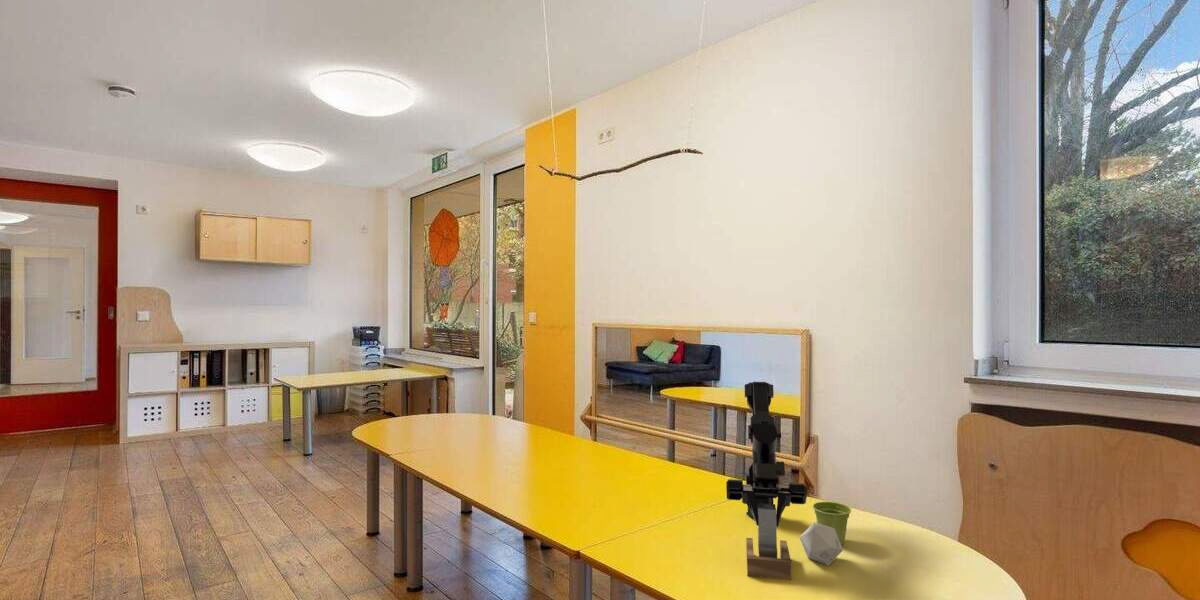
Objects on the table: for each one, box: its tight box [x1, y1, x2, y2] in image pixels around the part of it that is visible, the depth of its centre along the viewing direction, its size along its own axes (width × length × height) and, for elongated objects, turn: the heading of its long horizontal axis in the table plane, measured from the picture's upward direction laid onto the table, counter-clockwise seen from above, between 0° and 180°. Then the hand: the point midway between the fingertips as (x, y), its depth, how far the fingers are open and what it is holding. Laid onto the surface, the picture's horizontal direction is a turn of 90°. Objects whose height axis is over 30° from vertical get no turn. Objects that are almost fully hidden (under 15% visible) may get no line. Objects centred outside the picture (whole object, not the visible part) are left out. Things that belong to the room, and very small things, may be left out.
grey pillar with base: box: [757, 503, 778, 558], centre depth 138 cm, size 7×4×11 cm, turn 167°
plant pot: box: [812, 501, 852, 545], centre depth 152 cm, size 9×9×9 cm
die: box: [799, 522, 844, 566], centre depth 141 cm, size 8×9×10 cm
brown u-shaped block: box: [745, 537, 792, 581], centre depth 138 cm, size 12×10×4 cm
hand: (767, 525), depth 137 cm, fingers closed on grey pillar with base, 4 cm apart
